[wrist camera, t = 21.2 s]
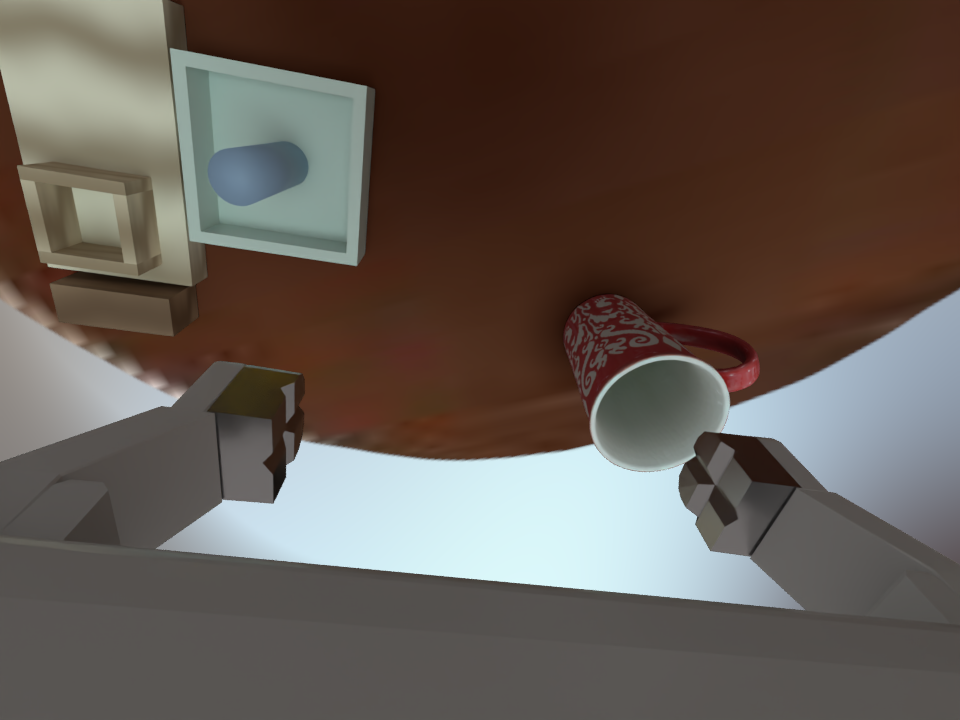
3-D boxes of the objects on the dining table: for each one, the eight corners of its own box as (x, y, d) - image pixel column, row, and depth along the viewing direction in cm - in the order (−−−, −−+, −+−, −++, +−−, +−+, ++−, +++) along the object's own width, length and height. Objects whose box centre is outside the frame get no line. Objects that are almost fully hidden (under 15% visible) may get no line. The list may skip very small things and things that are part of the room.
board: (10, -30, 29) (-80, -60, 24) (183, 6, 30) (131, -16, 25) (72, 257, 37) (14, 278, 32) (207, 276, 38) (171, 300, 33)
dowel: (264, 137, 33) (205, 143, 25) (308, 145, 34) (263, 153, 26) (266, 182, 35) (210, 201, 27) (308, 189, 35) (265, 210, 27)
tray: (198, 55, 31) (169, 47, 28) (375, 89, 33) (366, 86, 30) (212, 230, 36) (189, 241, 33) (365, 253, 38) (357, 265, 35)
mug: (560, 387, 45) (600, 486, 33) (543, 299, 40) (580, 375, 28) (694, 354, 44) (786, 444, 32) (690, 261, 40) (793, 323, 28)
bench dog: (88, 267, 37) (49, 283, 34) (195, 282, 38) (168, 299, 35) (95, 303, 39) (59, 322, 35) (198, 316, 40) (173, 336, 36)
